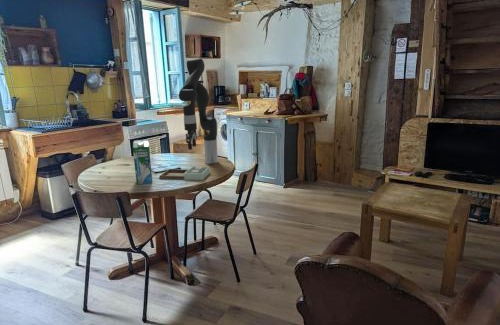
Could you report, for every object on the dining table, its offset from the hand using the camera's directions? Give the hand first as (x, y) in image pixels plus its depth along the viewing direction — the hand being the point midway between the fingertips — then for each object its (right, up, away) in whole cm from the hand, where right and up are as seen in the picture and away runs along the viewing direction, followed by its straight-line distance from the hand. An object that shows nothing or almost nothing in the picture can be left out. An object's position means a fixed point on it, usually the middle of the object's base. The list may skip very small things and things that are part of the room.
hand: (192, 147), depth 219 cm
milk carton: (-28, -21, -6) cm, 36 cm away
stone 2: (+3, -17, +6) cm, 18 cm away
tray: (-11, -18, +5) cm, 22 cm away
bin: (+3, -18, +2) cm, 19 cm away
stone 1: (+2, -19, -1) cm, 19 cm away
